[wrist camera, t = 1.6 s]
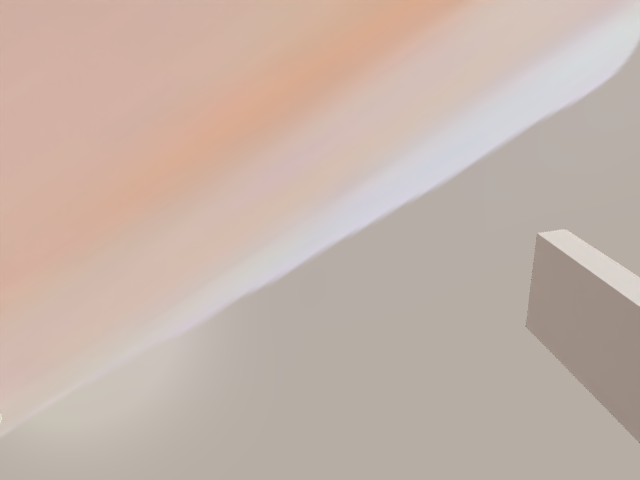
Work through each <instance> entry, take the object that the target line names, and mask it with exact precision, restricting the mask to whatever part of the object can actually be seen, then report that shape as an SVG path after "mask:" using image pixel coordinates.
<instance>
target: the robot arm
mask: <svg viewBox="0 0 640 480" xmlns="http://www.w3.org/2000/svg"><path fill="white" fill-rule="evenodd" d="M526 327H527V328H528V329H529V330H530V331H531V332H532V334H533V335H534V336H536V337H537V339H538V340H539V341H540V342H541V343H542V344H543V345H544V346H545V347H546V348H547V349H548V350H549V351H550V352H551V353H552V354H553V355H554V356H555V357H556V358H557V359H558V360H559V361H560V362H561V363H562V364H563V365H564V366H565V367H566V368H567V369H568V370H569V371H570V372H571V373H572V374H573V375H574V376H575V377H576V378H577V379H578V380H579V382H580V383H581V384H583V386H584V387H585V388H586V389H587V390H588V391H589V392H590V393H591V394H592V395H593V396H594V397H595V398H596V399H597V400H598V401H599V402H600V403H601V404H602V405H603V406H604V407H605V408H606V409H607V410H608V411H609V412H610V413H611V414H612V415H613V416H614V417H615V418H616V419H617V420H618V421H619V422H620V423H621V424H622V425H623V426H624V427H625V429H626V430H627V431H629V433H630V434H631V435H632V436H633V437H634V438H635V439H636V440H637V441H638V442H639V443H640V277H638V276H636V275H635V274H633V273H632V272H630V271H629V270H627V269H626V268H624V267H623V266H621V265H620V264H618V263H617V262H615V261H613V260H612V259H610V258H609V257H607V256H606V255H604V254H603V253H601V252H600V251H598V250H596V249H595V248H593V247H592V246H590V245H589V244H587V243H586V242H584V241H583V240H581V239H580V238H578V237H576V236H575V235H574V234H572V233H570V232H569V231H567V230H566V229H563V230H555V231H549V232H542V233H537V238H536V246H535V255H534V263H533V271H532V279H531V287H530V295H529V304H528V311H527V321H526ZM1 420H2V416H1V413H0V422H1Z"/></svg>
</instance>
